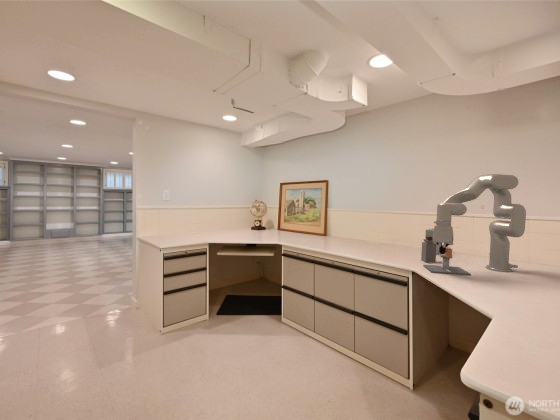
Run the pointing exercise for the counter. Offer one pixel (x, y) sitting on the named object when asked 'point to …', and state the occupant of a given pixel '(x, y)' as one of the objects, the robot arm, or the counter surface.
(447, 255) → the orange brown block
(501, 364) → the counter surface
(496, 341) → the counter surface
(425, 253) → the perfume bottle
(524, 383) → the counter surface
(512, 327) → the counter surface
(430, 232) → the hard drive box
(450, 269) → the post board
